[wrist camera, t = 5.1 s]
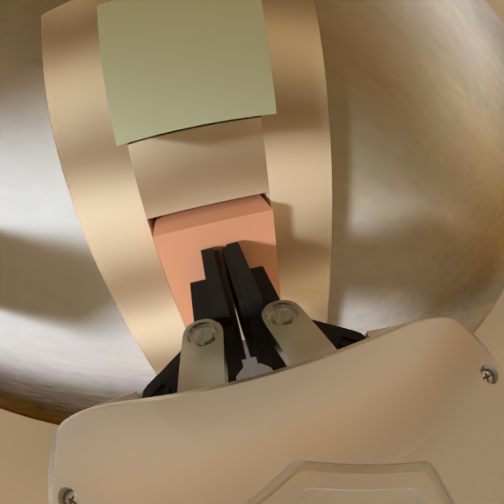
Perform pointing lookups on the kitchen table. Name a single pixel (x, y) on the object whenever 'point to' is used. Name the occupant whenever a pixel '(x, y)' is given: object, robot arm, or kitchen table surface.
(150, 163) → the board
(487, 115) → the kitchen table surface
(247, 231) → the terracotta key
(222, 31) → the sage key
